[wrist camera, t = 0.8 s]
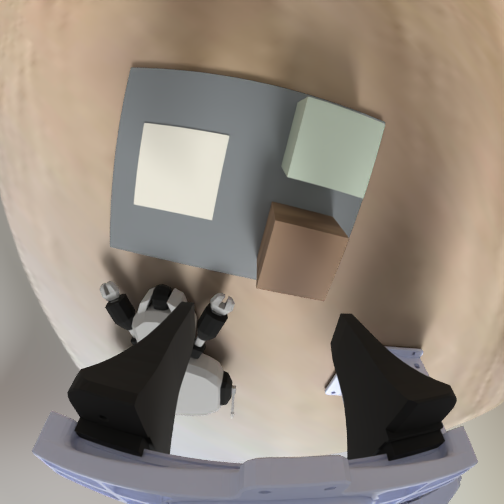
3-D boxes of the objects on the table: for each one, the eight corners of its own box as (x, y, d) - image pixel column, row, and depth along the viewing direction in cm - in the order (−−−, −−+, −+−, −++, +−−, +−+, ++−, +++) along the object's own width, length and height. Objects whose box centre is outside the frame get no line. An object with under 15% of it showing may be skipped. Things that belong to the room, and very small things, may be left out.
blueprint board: (382, 122, 17) (385, 122, 16) (325, 291, 23) (327, 294, 22) (133, 68, 15) (130, 67, 15) (112, 244, 21) (109, 247, 21)
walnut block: (333, 216, 19) (349, 238, 16) (313, 271, 21) (324, 301, 18) (271, 201, 19) (275, 220, 15) (256, 259, 21) (256, 288, 17)
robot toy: (108, 264, 23) (132, 380, 29) (84, 287, 19) (120, 407, 24) (243, 276, 23) (235, 395, 29) (240, 305, 19) (233, 426, 24)
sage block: (360, 123, 16) (385, 124, 13) (343, 183, 18) (363, 198, 15) (297, 102, 16) (308, 96, 13) (281, 166, 18) (287, 176, 14)
